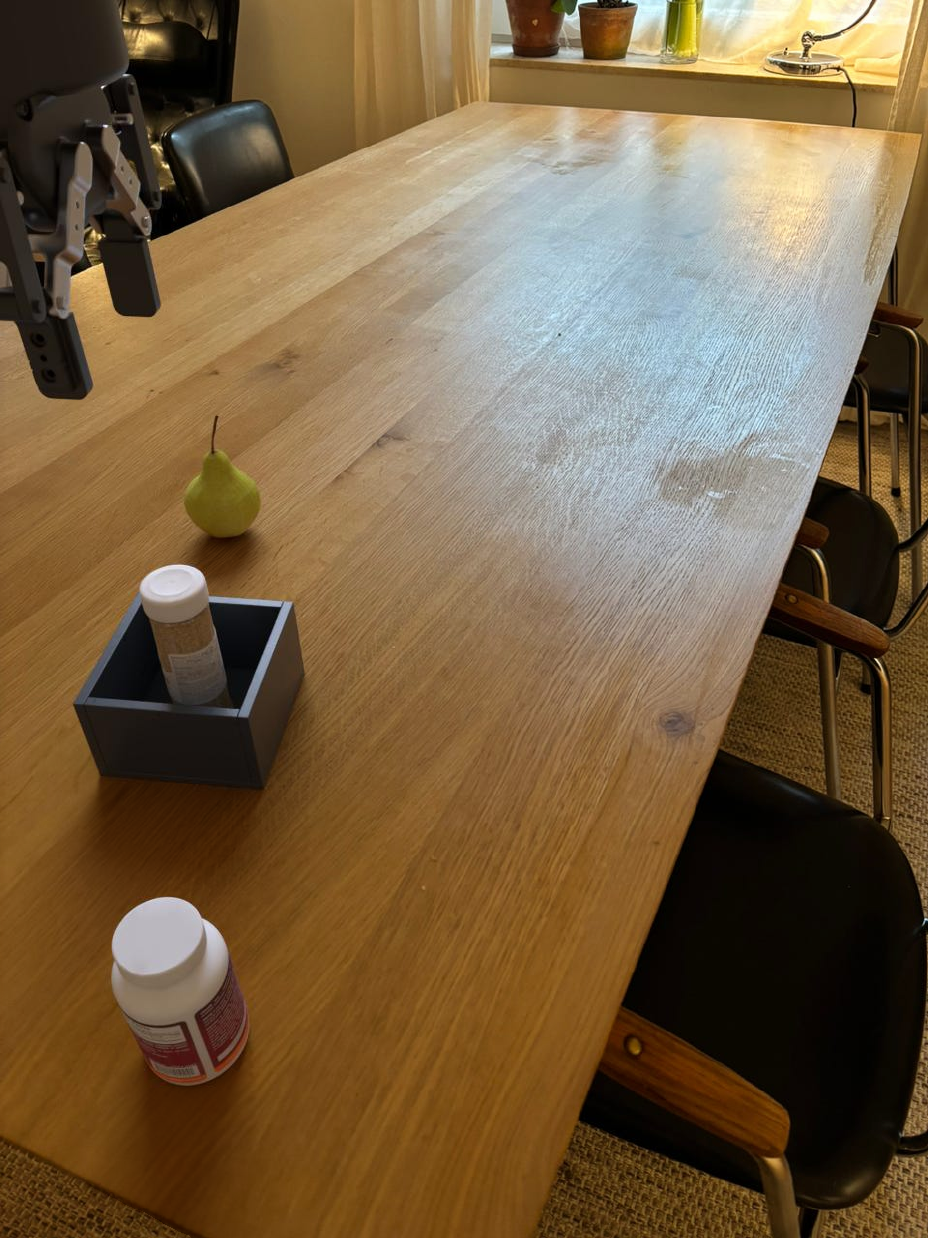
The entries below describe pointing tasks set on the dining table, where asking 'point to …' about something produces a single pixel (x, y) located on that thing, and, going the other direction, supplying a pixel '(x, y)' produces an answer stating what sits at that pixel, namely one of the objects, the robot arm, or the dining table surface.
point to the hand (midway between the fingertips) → (106, 352)
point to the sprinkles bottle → (185, 636)
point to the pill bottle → (178, 991)
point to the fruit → (222, 496)
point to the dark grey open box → (195, 735)
